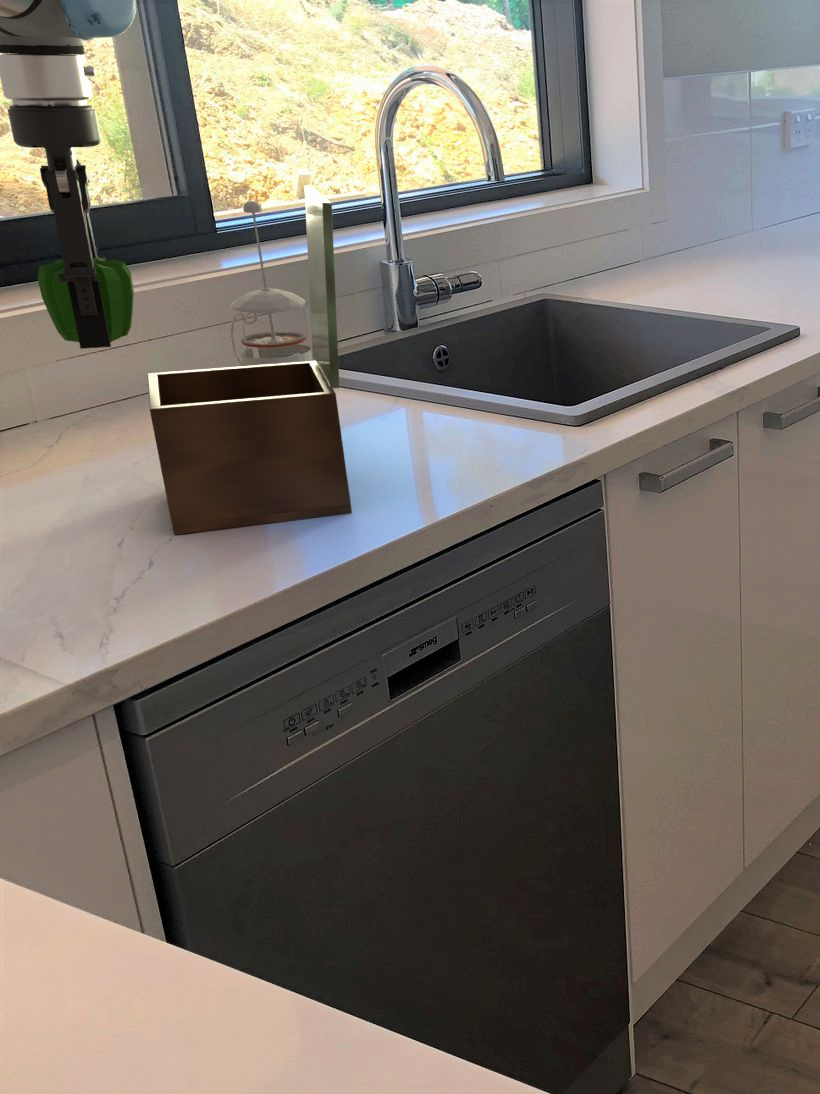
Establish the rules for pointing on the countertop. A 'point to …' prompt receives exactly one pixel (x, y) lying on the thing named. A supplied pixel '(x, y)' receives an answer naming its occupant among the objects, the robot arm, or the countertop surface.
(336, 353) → the lid
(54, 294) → the bell pepper
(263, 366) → the chest
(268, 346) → the french press
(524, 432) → the countertop surface
